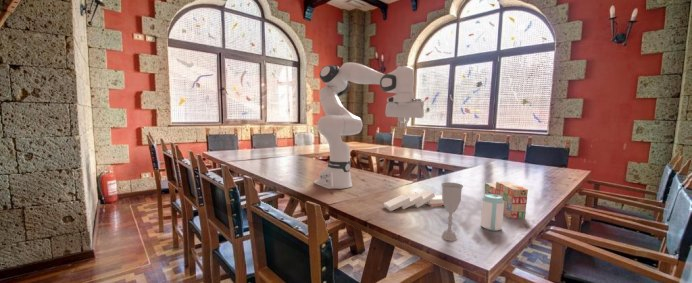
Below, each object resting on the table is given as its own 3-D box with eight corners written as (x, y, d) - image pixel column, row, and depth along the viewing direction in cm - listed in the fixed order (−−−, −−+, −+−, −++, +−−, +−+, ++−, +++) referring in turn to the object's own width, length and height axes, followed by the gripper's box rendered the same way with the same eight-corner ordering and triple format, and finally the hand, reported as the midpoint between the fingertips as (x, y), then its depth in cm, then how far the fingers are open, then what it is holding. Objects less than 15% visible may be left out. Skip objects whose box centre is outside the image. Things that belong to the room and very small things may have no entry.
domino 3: (416, 203, 128) (433, 192, 131) (409, 200, 133) (426, 189, 136) (417, 207, 128) (435, 196, 131) (410, 204, 134) (427, 193, 136)
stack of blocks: (483, 202, 139) (485, 176, 138) (496, 202, 140) (498, 176, 138) (510, 218, 118) (512, 188, 117) (525, 218, 118) (528, 188, 117)
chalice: (456, 244, 94) (459, 189, 92) (435, 238, 98) (438, 185, 97) (462, 236, 100) (466, 184, 98) (442, 231, 104) (445, 181, 102)
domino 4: (430, 199, 131) (450, 198, 132) (424, 195, 136) (444, 195, 138) (429, 203, 131) (450, 203, 133) (424, 200, 136) (444, 199, 138)
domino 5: (431, 204, 131) (450, 202, 134) (424, 200, 136) (443, 198, 139) (431, 208, 131) (450, 206, 134) (424, 204, 136) (443, 202, 139)
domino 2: (402, 205, 126) (422, 195, 128) (396, 201, 132) (415, 192, 134) (403, 209, 127) (423, 199, 129) (398, 205, 132) (417, 196, 134)
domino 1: (389, 207, 124) (409, 197, 126) (383, 203, 129) (403, 194, 131) (390, 211, 124) (410, 201, 127) (384, 207, 129) (404, 198, 132)
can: (480, 222, 113) (482, 192, 112) (500, 225, 110) (503, 194, 109) (481, 229, 106) (483, 197, 105) (503, 232, 104) (505, 199, 103)
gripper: (426, 98, 143) (425, 127, 144) (390, 99, 156) (389, 125, 158) (420, 98, 138) (419, 127, 140) (384, 98, 152) (383, 125, 153)
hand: (403, 126), depth 149 cm, fingers closed
